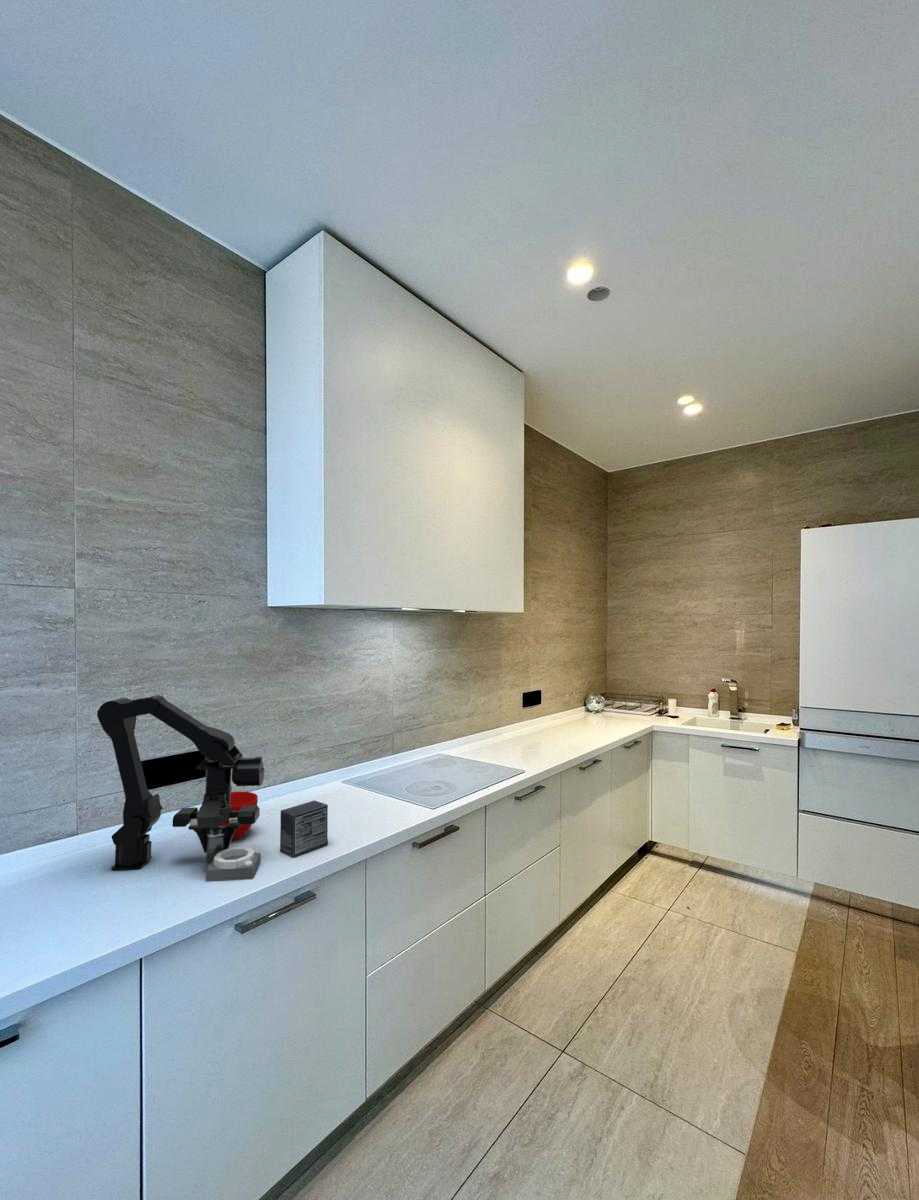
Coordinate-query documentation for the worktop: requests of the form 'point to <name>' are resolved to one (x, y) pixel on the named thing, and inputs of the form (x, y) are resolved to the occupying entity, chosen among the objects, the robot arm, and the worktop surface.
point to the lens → (215, 841)
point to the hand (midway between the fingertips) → (216, 851)
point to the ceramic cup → (236, 804)
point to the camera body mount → (233, 864)
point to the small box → (303, 828)
